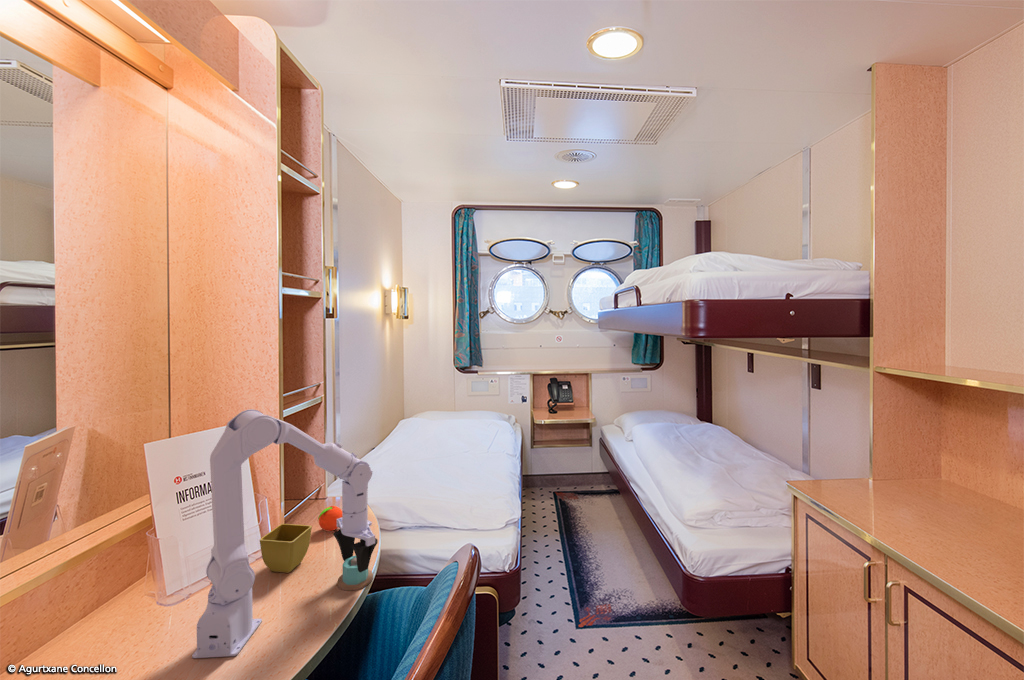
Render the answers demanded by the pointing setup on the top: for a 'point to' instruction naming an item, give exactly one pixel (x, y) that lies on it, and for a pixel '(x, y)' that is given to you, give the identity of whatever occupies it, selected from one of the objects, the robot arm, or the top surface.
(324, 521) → the clementine
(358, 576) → the collar
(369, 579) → the post
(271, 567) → the flower pot
